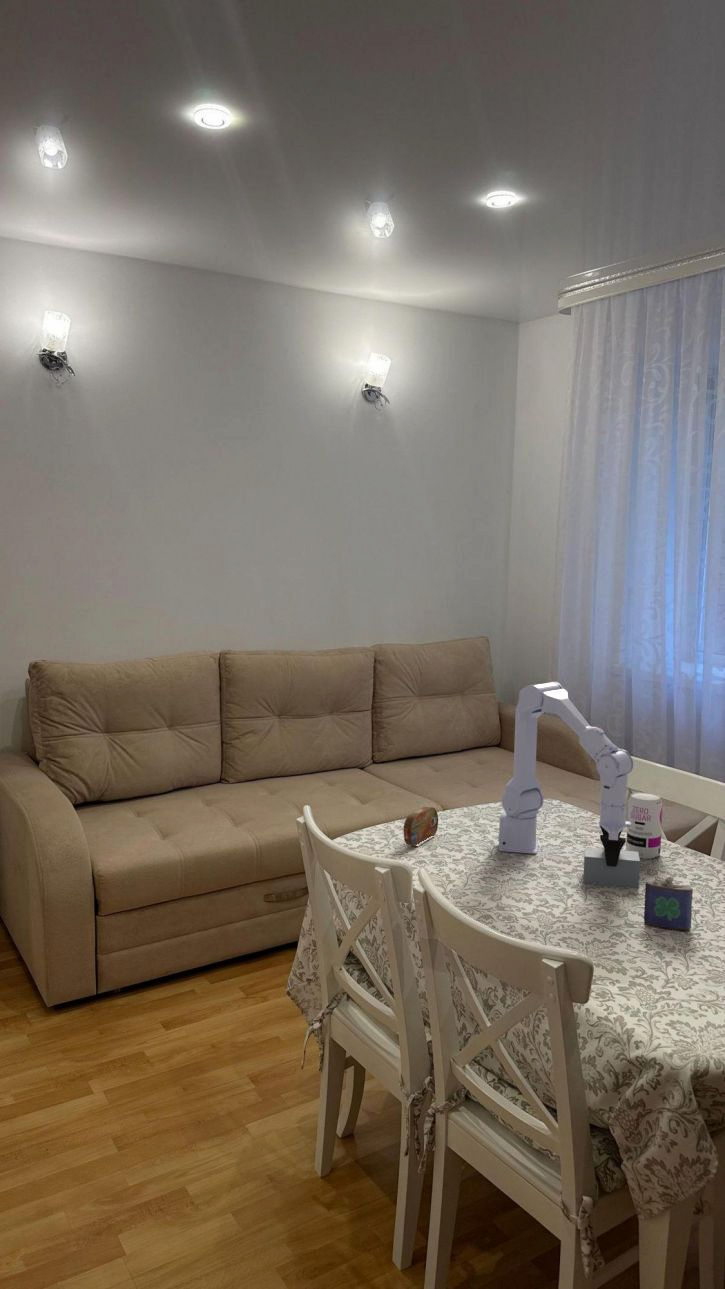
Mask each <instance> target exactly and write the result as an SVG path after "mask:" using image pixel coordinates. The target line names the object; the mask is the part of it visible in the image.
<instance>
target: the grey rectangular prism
mask: <svg viewBox="0 0 725 1289" xmlns="http://www.w3.org/2000/svg"><path fill="white" fill-rule="evenodd" d="M583 849H584V852H583V854H584V855H583V884H589V885H590V884H591V885H599V886H611V887H623V888H634V889H639V888H640V870H641V868H640V866H641V858H639V853H638V852H636V851H627V850H622V849H621V851H620V855H619V859H618V863H617V866H616V867H613V866H607V864H606V858H605V850H604V848H597V847H584V848H583Z"/></svg>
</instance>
